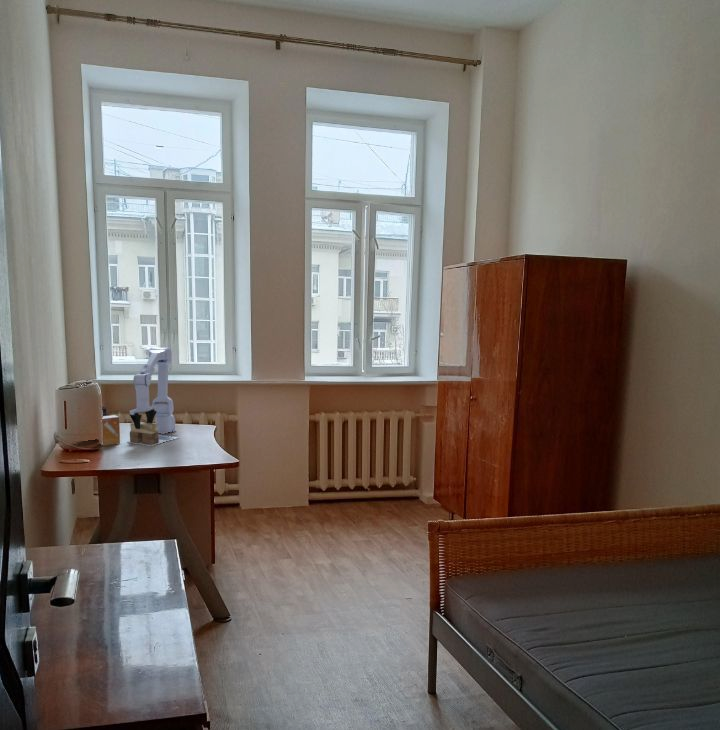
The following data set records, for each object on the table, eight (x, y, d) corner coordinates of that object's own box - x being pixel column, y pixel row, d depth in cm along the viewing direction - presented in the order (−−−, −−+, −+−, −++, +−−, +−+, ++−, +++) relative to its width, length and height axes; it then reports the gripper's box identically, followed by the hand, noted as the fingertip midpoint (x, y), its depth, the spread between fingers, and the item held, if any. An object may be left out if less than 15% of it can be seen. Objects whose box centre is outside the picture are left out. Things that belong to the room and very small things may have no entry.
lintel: (137, 429, 273) (136, 421, 272) (157, 432, 267) (157, 423, 267) (130, 431, 269) (130, 423, 269) (151, 433, 264) (151, 425, 263)
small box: (102, 446, 262) (101, 418, 261) (98, 444, 267) (96, 416, 265) (120, 443, 268) (119, 416, 266) (115, 441, 272) (114, 414, 271)
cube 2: (150, 441, 270) (150, 431, 270) (158, 442, 268) (158, 431, 268) (142, 443, 266) (142, 433, 265) (150, 444, 264) (150, 434, 263)
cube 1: (138, 439, 274) (137, 429, 273) (145, 440, 272) (145, 430, 271) (130, 441, 269) (129, 431, 269) (137, 442, 267) (137, 432, 266)
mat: (154, 435, 286) (154, 434, 286) (179, 438, 279) (179, 437, 279) (127, 442, 269) (126, 441, 269) (152, 446, 263) (152, 445, 263)
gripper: (137, 401, 258) (138, 431, 260) (160, 397, 272) (161, 425, 273) (125, 400, 261) (127, 429, 263) (149, 396, 274) (150, 423, 276)
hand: (143, 427), depth 268 cm, fingers open, 7 cm apart
